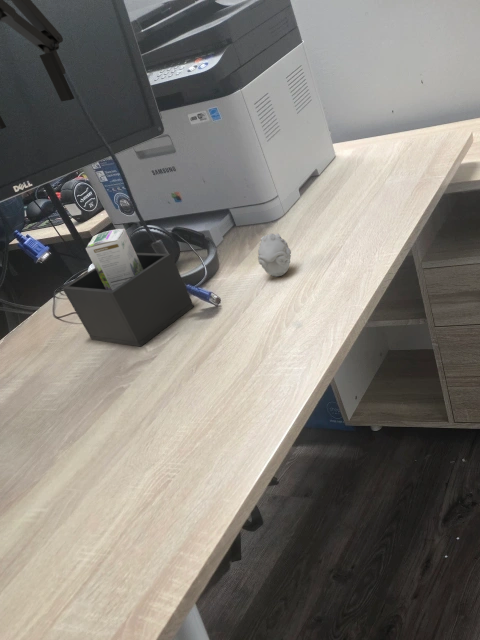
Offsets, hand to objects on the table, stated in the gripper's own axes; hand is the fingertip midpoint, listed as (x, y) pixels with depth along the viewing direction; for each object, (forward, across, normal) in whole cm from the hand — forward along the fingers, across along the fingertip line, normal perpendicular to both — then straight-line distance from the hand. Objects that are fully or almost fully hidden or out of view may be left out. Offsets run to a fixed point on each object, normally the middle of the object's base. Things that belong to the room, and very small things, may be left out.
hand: (35, 114), depth 103 cm
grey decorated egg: (+33, +14, -27) cm, 45 cm away
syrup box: (+32, -5, -10) cm, 34 cm away
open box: (+33, -6, -10) cm, 35 cm away
